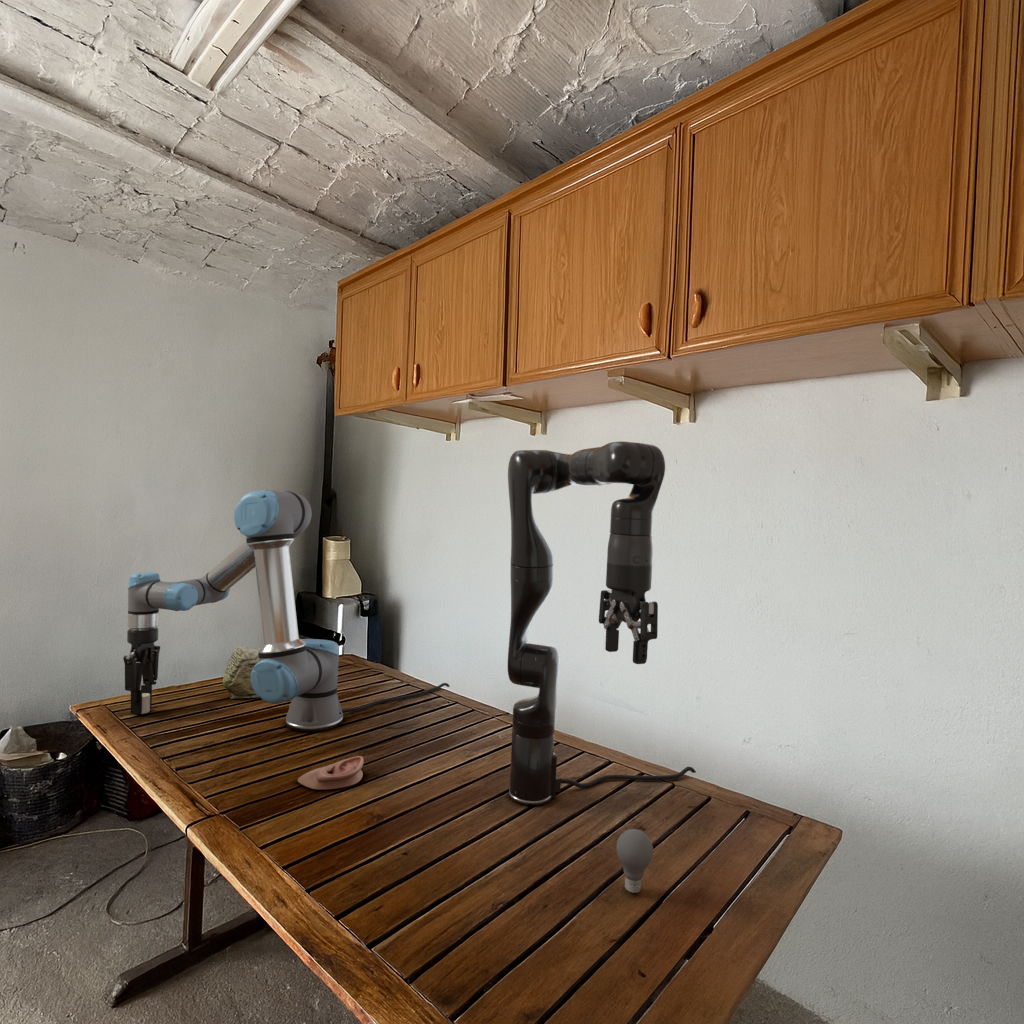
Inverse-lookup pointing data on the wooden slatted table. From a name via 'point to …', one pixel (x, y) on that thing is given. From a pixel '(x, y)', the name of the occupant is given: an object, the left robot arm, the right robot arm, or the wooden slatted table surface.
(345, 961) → the wooden slatted table surface
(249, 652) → the fossil
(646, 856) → the light bulb
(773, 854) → the wooden slatted table surface
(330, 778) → the anatomical model
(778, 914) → the wooden slatted table surface
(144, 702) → the canister
